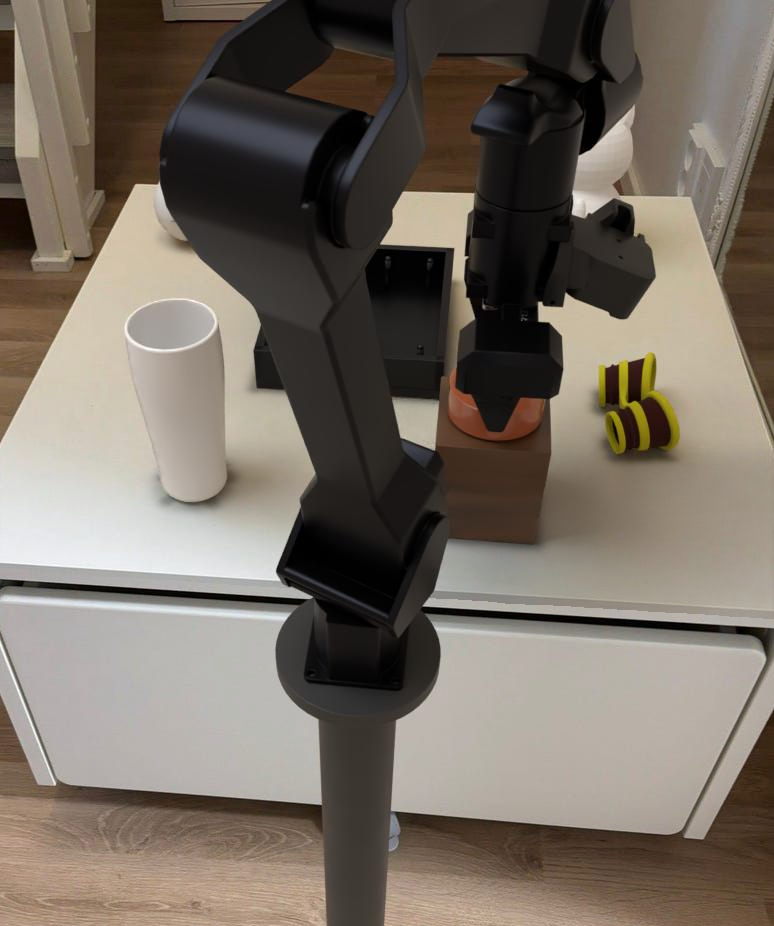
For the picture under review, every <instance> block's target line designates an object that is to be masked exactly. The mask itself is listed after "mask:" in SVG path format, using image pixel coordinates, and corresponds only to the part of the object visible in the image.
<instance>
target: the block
mask: <svg viewBox="0 0 774 926" xmlns="http://www.w3.org/2000/svg"><path fill="white" fill-rule="evenodd" d="M449 381H450V376H444V377H441V385H440V396H439V399H438V408H437V419H436V420H437V422H436V432H435V442H434V443H435V445H434V450H435V451H437V452H439V454H440V456H441V457H442V459H443V461H444V464H445V482H446V485H447V486H448V487H450V491H449V493H448V494H447V495H446V496H445V499H446V502H447V517H449V518H450V521H451V527H450V533H449V537H448V539H463V540H476V541H489V542H499V543H513V544H514V543H516V544H525V545H526V544H529V545H535V542H536V537H537V533H538V527H539V522H540V516H541V510H542V507H543V506H542V505H543V500H544V495H545V490H546V484H547V480H548V474H549V469H550V463H551V458H552V453H553V451H552V450H553V449H552V419H551V399H546V401H545V406H544V412H543V417H542V420H541V422H540V424H539V425H538V426H537V428H536V429H535V430H533V431H532V432H530V433H529V434H527V435H525V436H523V437H520V438H516V439H512V440H503V441H495V440H486V439H481V438H478V437H475V436H472V435H469V434H467V433H465V432H464V431H462V430H461V429H459V428H458V427H457V426H456V425H455V424H454V423H453V422H452V420H451V419H450V417H449V415H448V411H447V404H448V393H449Z"/></svg>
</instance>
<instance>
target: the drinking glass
mask: <svg viewBox="0 0 774 926" xmlns="http://www.w3.org/2000/svg"><path fill="white" fill-rule="evenodd" d="M123 333H124V334H123V335H124V341H125V342H124V343H125V349H126V356H127V361H128V367H129V372H130V375H131V380H132V384H133V387H134V392H135V394H136V398H137V401H138V405H139V408H140V411H141V414H142V418H143V421H144V423H145V427H146V431H147V435H148V438H149V442H150V445H151V448H152V451H153V455H154V459H155V462H156V465H157V469H158V475H159V480H160V484H161V486H162V489H163V490H164V491H165V493H166V494H167V495H168V496H169V497H171V498H173V499H175V500H177V501H181V502H185V503H197V502H198V503H199V502H202V501H207V500H209V499H211V498H213V497H215V496H217V495H218V494H219V493H220V492H221V491H222V490H223V489H224V487H225V486H226V483H227V479H228V467H227V458H226V457H227V456H226V455H227V454H226V374H225V357H224V348H223V341H222V334H221V329H220V321H219V318H218V315H217V314H216V312H215V311H214V309H212V308H211V307H210V306H209V305H207V304H205V303H203V302H201V301H198V300H196V299H191V298H182V297H171V298H162V299H158V300H155V301H151V302H149V303H146V304H143V305H142V306H140V307H138V308H137V309H135V310H134V311H133V312H132V313H131V314H130V315H129V316H128V317H127V319H126V320H125V323H124V326H123Z"/></svg>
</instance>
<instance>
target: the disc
mask: <svg viewBox="0 0 774 926" xmlns="http://www.w3.org/2000/svg"><path fill="white" fill-rule="evenodd" d="M449 377H450V381H449V393H448V404H447V411H448V415H449V417H450V419H451V420H452V422H453V423H454V424H455V425H456V426H457V427H458V428H459V429H461V430H462V431H464V432H465V433H467V434H469V435H472V436H475V437H478V438H481V439H486V440H495V441H503V440H512V439H516V438H520V437H523V436H525V435H527V434H529V433H530V432H532V431H533V430H535V429H536V428H537V426H538V425H539V424H540V422H541V420H542V417H543V412H544V406H545V401H546V399H535V398H520V400H519V402H518V404H517V406H516V408H515V410H514V412H513V414H512V416H511V418H510V420H509V422H508V424H507V426H506V427H505V429H504V431H503V432H489V431H487V429H486V427H485V424H484V422H483V420H482V418H481V415H480V413H479V411H478V409H477V406H476V404H475V402H474V400H473V398H472V396H471V394H463V393H462V392H460V391H459V390H457V389H456V388H455V380H456V367H455V368H454V369H453V370H452V372H451V374H450V376H449Z"/></svg>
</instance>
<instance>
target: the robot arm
mask: <svg viewBox="0 0 774 926" xmlns="http://www.w3.org/2000/svg"><path fill="white" fill-rule="evenodd" d="M631 5H632V4H631V0H270V1H269V2H267V3H265V4H264V5H262V6H261V7H260V8H258V9H256V10H255V11H254V12H253V13H251V14H250V15H249V16H247V17H245V18H244V19H243V20H241V21H240V22H239V23H237V24H236V25H234V26H233V27H232V28H229V30H227V31H226V32H225V33H223V34H222V35H221V36H220V37H219V39H217V41H216V42H215V43H214V44H213V47H212V49H211V50H210V52H209V53H208V55H207V56H206V58H205V59H204V61H203V63H202V64H201V66H200V68H199V69H198V71H197V72H196V74H195V76H194V77H193V79H192V81H191V82H190V83H189V85H188V87H187V88H186V90H185V92H184V94H183V95H182V96H181V98H180V100H179V102H178V103H177V105H176V106H175V107H174V109H173V111H172V113H171V114H170V116H169V118H168V120H167V123H166V124H165V127H164V129H163V131H162V135H161V141H160V147H159V153H158V154H159V163H158V179H159V180H158V182H159V181H160V186H161V190H162V193H163V197H164V201H165V204H166V207H167V209H168V211H169V213H170V215H171V216H172V218H173V219H174V221H175V222H176V224H177V225H178V227H179V228H180V230H181V231H182V233H183V234H184V236H185V237H186V239H187V240H188V241H187V242H188V243H189V245H190V246H191V248H192V250H193V251H194V252H195V254H196V255H197V257H198V258H199V260H201V261H202V262H203V263H204V264H205V265H206V266H207V267H209V268H210V269H211V270H212V271H213V272H214V273H215V274H217V275H218V277H220V278H221V279H223V281H225V282H226V283H227V284H228V285H229V286H231V288H233V289H234V290H235V291H236V292H237V293H238V294H240V295H241V296H242V297H243V298H244V299H245V300H247V302H248V303H250V305H251V306H252V307H253V309H254V311H255V313H256V315H257V318H258V321H259V324H260V326H262V329H263V332H264V335H265V337H266V340H267V343H268V345H269V348H270V351H271V354H272V356H273V359H274V362H275V364H276V367H277V370H278V373H279V375H280V378H281V381H282V383H283V386H284V389H285V390H284V392H285V394H286V397H287V400H288V403H289V406H290V408H291V410H292V414H293V416H294V418H295V421H296V424H297V426H298V430H299V432H300V435H301V438H302V440H303V443H304V446H305V448H306V451H307V453H308V457H309V459H310V462H311V465H312V467H313V470H314V475H313V477H311V479H310V481H309V483H308V484H307V486H306V487H305V488H304V490H303V492H302V494H301V495H300V497H299V505H300V507H299V510H298V512H297V515H296V517H295V520H294V522H293V525H292V527H291V530H290V533H289V536H288V537H287V540H286V543H285V544H284V545H285V546H284V548H283V551H282V552H281V556H280V558H279V559H278V560H279V561H278V563H277V566H276V569H275V574H276V575H277V577H278V579H279V580H280V582H281V585H282V586H283V585H284V586H286V587H288V588H293V589H294V590H298V591H300V592H302V593H304V594H306V595H308V596H310V597H311V598H313V610H314V617H313V623H312V628H311V634H310V640H309V645H308V651H307V656H306V662H305V668H304V680H305V681H306V682H307V683H312V684H323V685H334V686H344V687H355V688H366V689H376V690H387V691H399V690H401V689H402V688H403V684H404V674H405V663H406V653H407V642H408V632H409V624H410V622H411V621H412V620H413V618H414V617H415V616H416V614H417V613H418V612H419V610H422V608H423V606H424V605H425V604H426V602H427V601H428V600H429V598H430V597H431V596H432V594H433V593H434V592H435V589H436V587H437V582H438V579H439V575H440V571H441V567H442V564H443V560H444V555H445V551H446V548H447V544H448V540H449V538H448V537H449V533H450V527H451V521H450V518H449V517H447V502H446V499H445V496H446V495H447V494H448V493H449V491H450V487H448V486H447V485H446V482H445V464H444V461H443V459H442V457H441V456H440V454H439V452H437V451H435V449H433V448H429V447H427V446H424V445H421V444H419V443H416V442H414V441H411V440H409V439H406V438H404V437H401V434H400V428H399V423H398V419H397V415H396V410H395V405H394V401H393V396H391V391H390V387H389V382H388V378H387V373H386V369H385V364H384V359H383V355H382V350H381V346H380V341H379V336H378V332H377V327H376V323H375V318H374V313H373V309H372V304H371V300H370V295H369V291H368V286H367V281H366V273H365V267H366V265H367V264H368V262H369V261H370V259H371V258H372V256H373V254H374V253H375V251H376V250H377V248H378V247H379V245H380V244H382V242H383V241H384V238H385V237H386V236H387V234H388V232H389V231H390V229H391V228H392V226H393V223H394V214H393V213H394V212H393V210H394V209H395V207H396V205H397V203H398V201H399V200H400V198H401V196H402V194H403V193H404V191H405V189H406V187H407V186H408V184H409V182H410V180H411V178H412V177H413V175H414V173H415V171H416V170H417V168H418V167H419V165H420V163H421V161H422V159H423V157H424V155H425V152H426V148H427V143H426V124H425V107H424V91H423V80H424V79H425V77H426V75H427V73H428V72H429V70H430V69H431V66H432V65H433V64H434V61H435V60H436V58H476V59H478V60H479V61H480V62H485V63H489V64H493V65H498V66H503V67H508V68H511V69H517V70H520V71H525V72H527V75H526V76H523V77H518V78H514V79H513V80H511V81H508V82H506V83H498V84H497V85H496V87H495V88H494V91H493V93H492V94H491V95H490V96H488V97H487V99H486V100H485V101H484V103H483V105H481V107H479V108H478V110H476V112H475V114H474V116H473V119H472V121H471V122H470V126H469V131H470V133H471V134H472V135H475V136H478V137H479V148H478V158H477V169H476V180H475V184H474V193H473V194H474V195H473V205H472V206H473V208H472V209H471V211H469V212H468V213H467V218H466V220H467V221H466V230H465V242H464V255H463V256H464V257H465V259H464V269H463V282H464V285H465V299H468V300H469V303H470V305H471V309H472V313H473V317H474V319H473V320H471V321H470V322H468V323H467V324H466V325H465V326H463V327H462V328H461V329H459V332H458V344H457V356H456V365H455V366H456V367H455V368H456V380H455V388H456V389H457V390H459V391H460V392H462V393H463V394H471V396H472V398H473V400H474V402H475V404H476V406H477V409H478V411H479V413H480V415H481V418H482V420H483V422H484V424H485V427H486V429H487V431H489V432H503V431H504V429H505V427H506V426H507V424H508V422H509V420H510V418H511V416H512V414H513V412H514V410H515V408H516V406H517V404H518V402H519V400H520V398H535V399H550V400H552V399H553V398H555V397H556V396H557V397H558V396H559V395H560V391H561V390H560V389H561V385H562V379H563V373H564V370H565V369H564V350H563V349H564V348H563V347H564V346H563V335H562V334H561V333H560V332H559V330H557V329H556V328H555V327H554V326H553V325H552V324H551V322H550V321H539V318H540V317H539V303H541V304H542V306H543V307H546V308H564V305H565V298H566V294H567V295H568V296H569V297H570V298H572V299H574V300H576V301H579V302H581V303H584V304H586V305H589V306H590V307H591V306H592V307H594V308H596V309H600V310H602V311H604V312H607V313H608V314H609V316H610V317H611V318H613V319H617V320H627V319H629V318H630V316H631V315H632V313H633V312H634V311H635V309H636V307H637V306H638V305H639V303H640V302H641V300H642V298H643V297H644V296H645V294H646V293H647V291H648V290H649V288H650V287H651V286H652V284H653V283H654V281H655V280H656V278H657V273H656V267H655V261H654V255H653V249H652V247H651V246H650V245H649V244H648V243H647V241H646V236H645V234H643V233H641V232H639V233H638V234H637V235H635V227H636V216H635V209H634V206H633V204H631V203H628V202H626V201H624V200H622V199H621V200H618V199H616V198H613V199H612V200H611V201H609V202H608V203H606V204H605V205H603V206H602V207H601V208H599V209H598V210H596V211H595V212H594V213H592V214H591V213H588V214H587V216H586V217H585V219H584V218H581V217H578V216H575V215H572V209H573V194H572V192H573V186H574V180H575V174H576V168H577V162H578V156H579V155H582V154H583V153H585V152H587V151H590V150H591V149H592V148H593V147H594V146H595V145H596V144H597V143H598V142H599V141H600V140H601V139H602V138H603V137H604V136H605V135H606V134H607V133H608V132H609V131H610V130H611V129H612V128H613V127H614V126H615V125H616V124H617V123H618V122H619V121H620V120H621V119H622V118H623V117H624V116H625V115H626V114H627V113H628V112H629V111H630V110H631V108H632V107H633V106H634V104H635V105H636V103H637V101H638V100H639V97H640V95H641V92H642V89H643V84H644V75H643V72H642V71H643V70H642V65H641V61H640V59H639V55H638V54H637V52H636V50H635V41H634V30H633V28H634V27H633V19H632V18H633V17H632V7H631ZM335 49H339V50H342V51H343V50H344V51H348V52H353V53H356V54H361V55H366V56H369V57H373V58H379V59H384V60H388V61H392V62H393V63H394V64H393V65H394V67H393V69H394V83H393V85H392V86H391V88H390V89H389V91H388V93H387V94H386V96H385V98H384V100H383V102H382V103H381V105H380V107H379V108H378V110H377V112H376V113H375V115H372V114H369V113H368V112H367V111H364V110H359V109H355V108H351V107H348V106H343V105H340V104H335V103H331V102H328V101H324V100H321V99H317V98H312V97H308V96H304V95H300V94H295V93H292V92H288V91H287V90H289V89H290V88H292V87H293V86H294V85H296V84H297V83H298V82H300V81H301V80H303V79H305V77H307V76H309V75H311V73H313V72H314V71H316V70H317V69H318V68H320V67H321V66H323V65H324V64H325V63H326V61H328V60H329V59H330V58H331V55H332V54H333V52H334V50H335ZM310 674H313V675H314V676H312V677H310V676H308V675H310ZM393 682H398V683H399V684H396V685H395V684H393Z"/></svg>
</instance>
